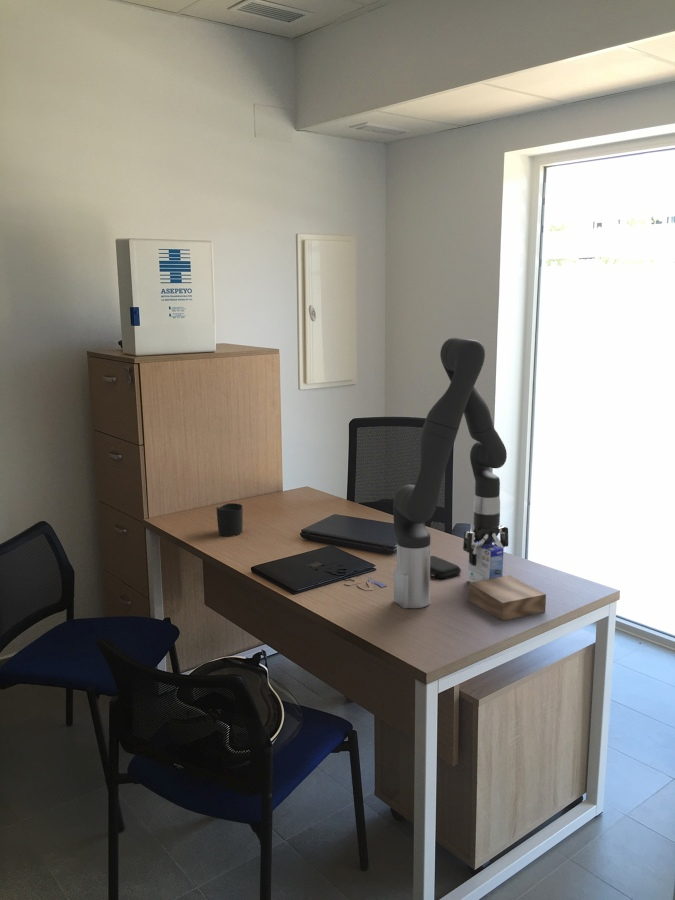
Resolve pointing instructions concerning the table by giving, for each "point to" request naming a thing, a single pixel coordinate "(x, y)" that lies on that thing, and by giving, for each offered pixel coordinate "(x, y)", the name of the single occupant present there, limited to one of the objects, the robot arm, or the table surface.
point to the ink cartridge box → (486, 563)
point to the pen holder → (230, 519)
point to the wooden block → (507, 597)
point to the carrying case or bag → (442, 568)
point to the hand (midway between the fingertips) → (485, 563)
